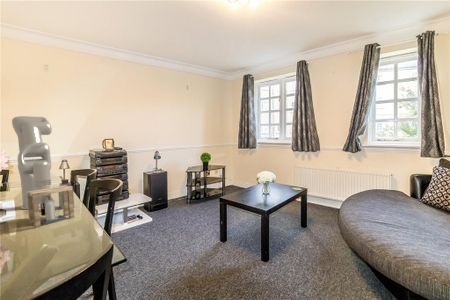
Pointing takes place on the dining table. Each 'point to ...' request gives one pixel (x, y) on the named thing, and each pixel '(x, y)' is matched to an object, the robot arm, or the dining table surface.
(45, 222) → the seat guides
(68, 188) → the wooden display stand
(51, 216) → the photo printer
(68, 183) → the beige rectangular block
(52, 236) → the dining table surface
